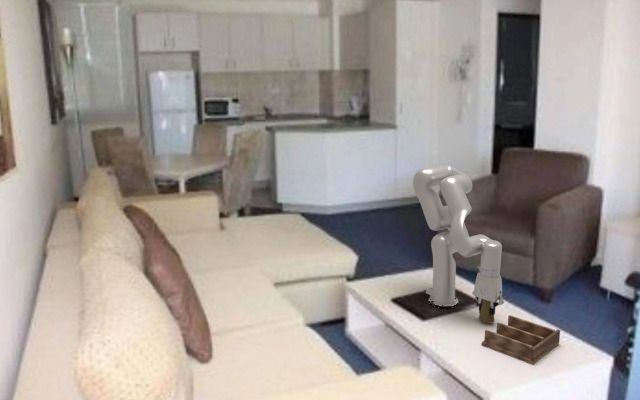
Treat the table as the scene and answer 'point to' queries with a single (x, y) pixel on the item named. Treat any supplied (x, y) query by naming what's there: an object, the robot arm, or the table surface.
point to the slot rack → (522, 339)
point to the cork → (486, 312)
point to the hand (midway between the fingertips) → (486, 313)
